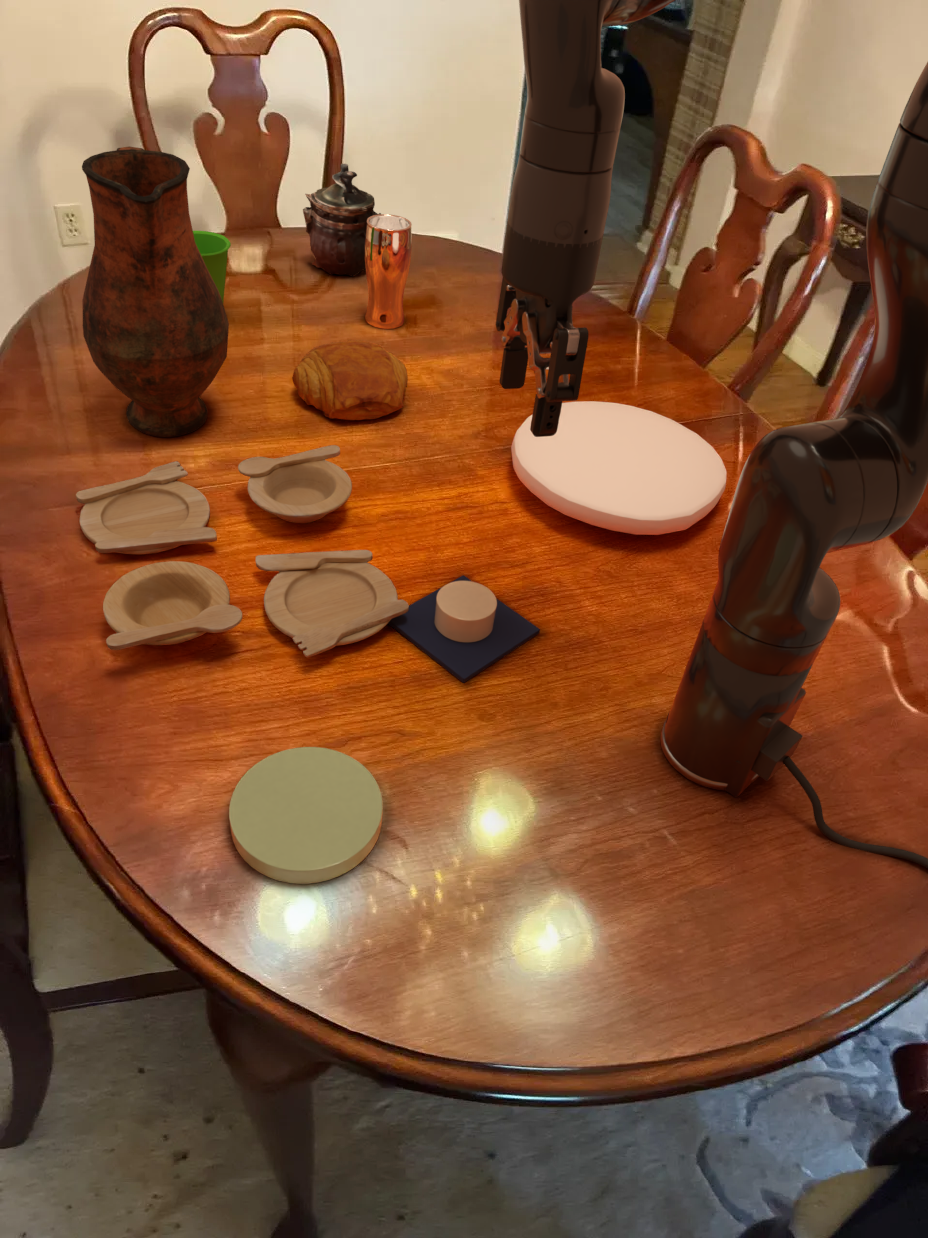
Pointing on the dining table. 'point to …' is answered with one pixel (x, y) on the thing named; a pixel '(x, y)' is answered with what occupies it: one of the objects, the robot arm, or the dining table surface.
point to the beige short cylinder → (465, 611)
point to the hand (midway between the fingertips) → (526, 409)
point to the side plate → (305, 815)
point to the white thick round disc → (621, 468)
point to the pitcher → (151, 292)
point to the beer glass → (387, 268)
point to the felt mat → (462, 655)
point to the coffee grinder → (339, 224)
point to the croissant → (351, 380)
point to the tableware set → (296, 597)
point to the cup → (214, 256)
